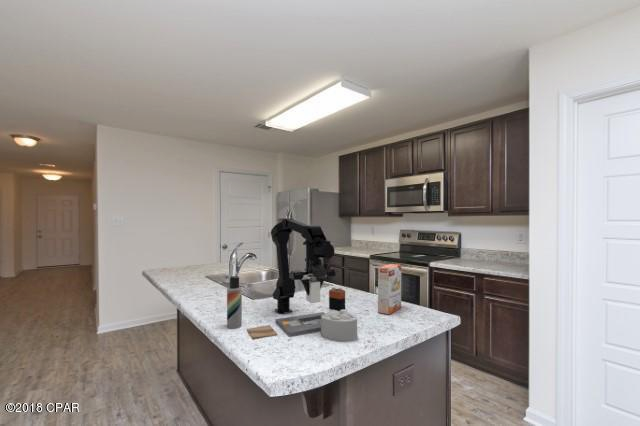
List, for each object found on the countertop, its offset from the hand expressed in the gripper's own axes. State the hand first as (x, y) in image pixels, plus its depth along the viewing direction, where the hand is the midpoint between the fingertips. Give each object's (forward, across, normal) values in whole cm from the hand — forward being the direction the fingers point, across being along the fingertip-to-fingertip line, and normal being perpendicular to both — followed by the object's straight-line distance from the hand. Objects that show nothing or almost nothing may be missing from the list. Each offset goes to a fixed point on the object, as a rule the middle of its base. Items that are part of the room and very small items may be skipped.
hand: (313, 294), depth 125 cm
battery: (+12, +19, +14) cm, 26 cm away
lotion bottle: (+12, -29, +12) cm, 34 cm away
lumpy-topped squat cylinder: (+12, +4, -16) cm, 20 cm away
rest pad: (+12, -21, 0) cm, 24 cm away
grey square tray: (+12, -2, 0) cm, 12 cm away
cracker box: (+12, +40, +1) cm, 42 cm away
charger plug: (+2, 0, 0) cm, 2 cm away
